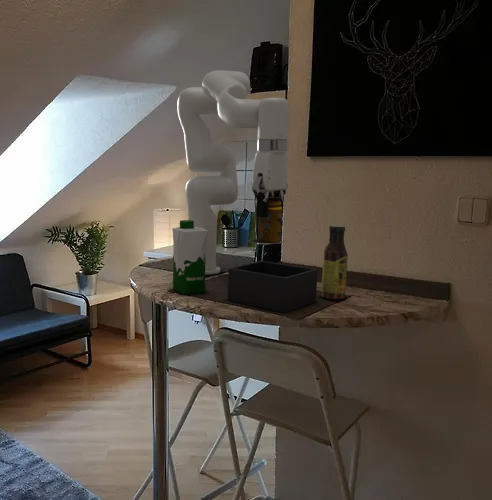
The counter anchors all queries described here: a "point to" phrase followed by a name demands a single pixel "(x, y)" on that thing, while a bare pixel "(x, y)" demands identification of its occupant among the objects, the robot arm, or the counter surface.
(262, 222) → the condiment
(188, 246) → the milk carton
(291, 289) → the dark grey open box
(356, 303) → the counter surface
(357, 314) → the counter surface
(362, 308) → the counter surface
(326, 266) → the sauce bottle
